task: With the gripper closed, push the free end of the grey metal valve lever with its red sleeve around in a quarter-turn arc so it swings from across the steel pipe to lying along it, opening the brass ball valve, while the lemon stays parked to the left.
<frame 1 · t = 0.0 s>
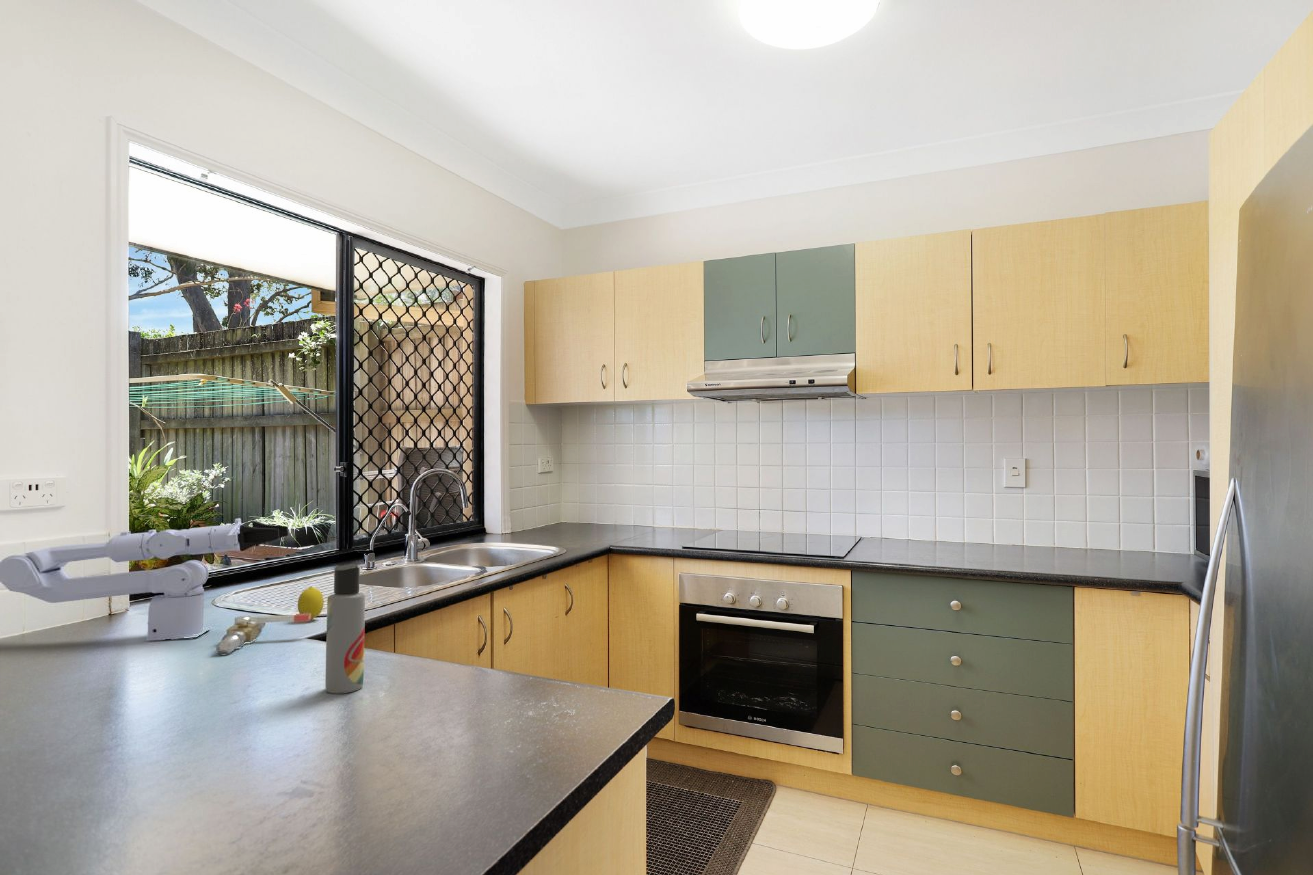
hand: (283, 532, 156), 22 cm above the countertop, tool horizontal, fingers open, 7 cm apart
valve: (242, 641, 145), on the countertop
lever: (272, 618, 147), point 4 cm above the countertop, hinge at 0.0°
lotion bottle: (344, 689, 114), on the countertop
lemon: (310, 621, 166), on the countertop
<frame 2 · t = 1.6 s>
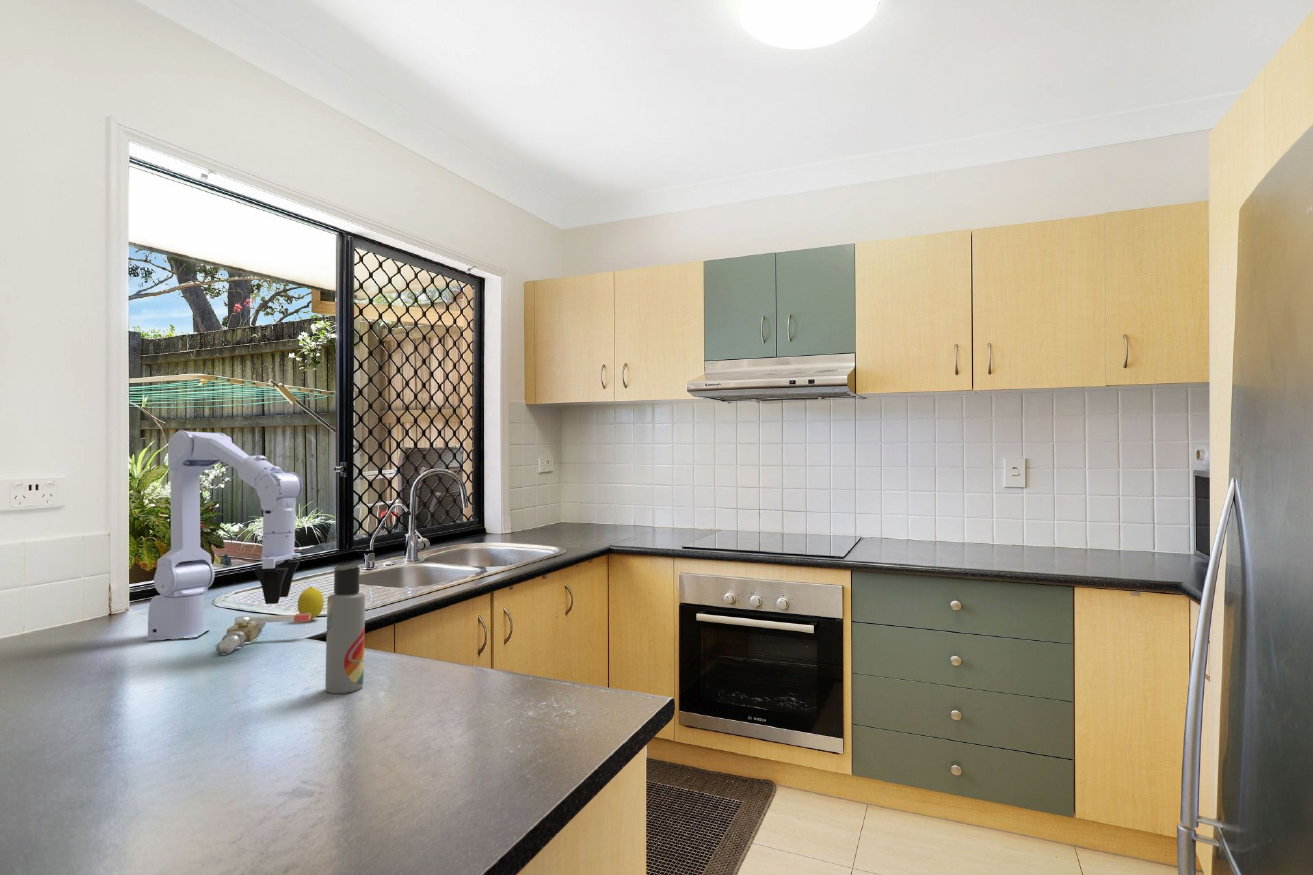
hand: (277, 600, 141), 9 cm above the countertop, tool pointing down, fingers open, 7 cm apart
nothing on the countertop moved.
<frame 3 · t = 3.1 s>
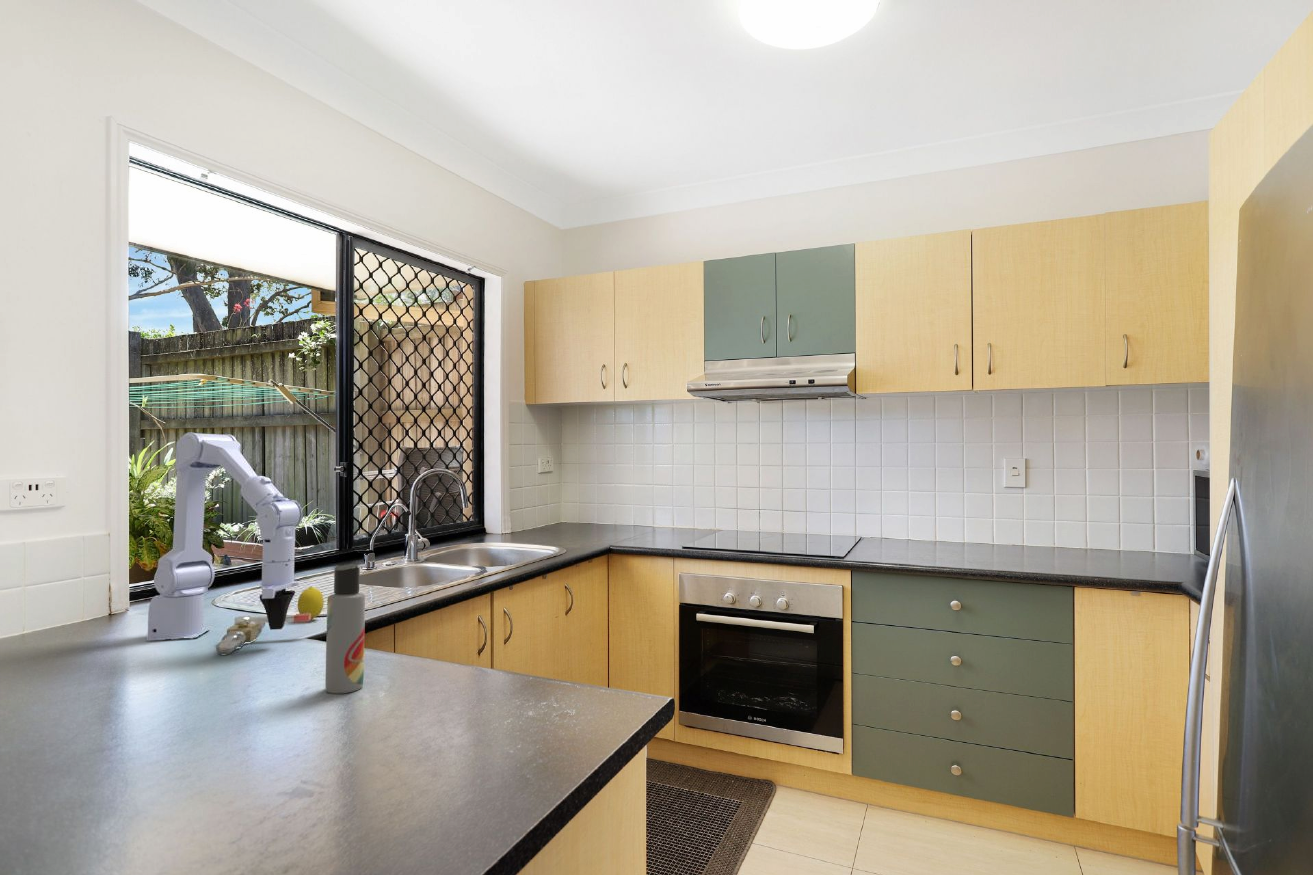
hand: (276, 628, 141), 4 cm above the countertop, tool pointing down, fingers closed
nothing on the countertop moved.
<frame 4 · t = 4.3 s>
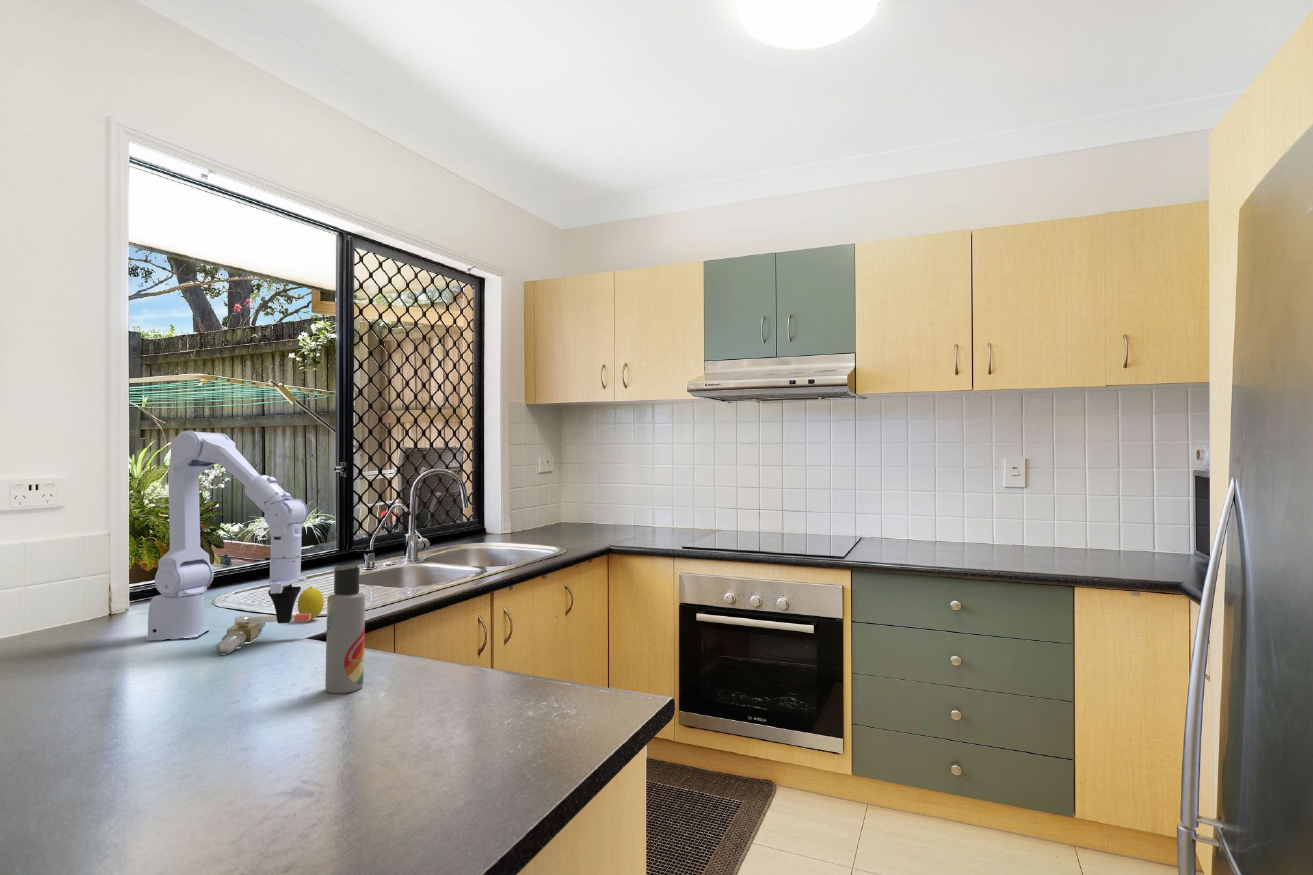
hand: (284, 622, 146), 4 cm above the countertop, tool pointing down, fingers closed, pressing on lever
lever: (272, 618, 147), point 4 cm above the countertop, hinge at 1.1°, touching gripper
everything else where it was.
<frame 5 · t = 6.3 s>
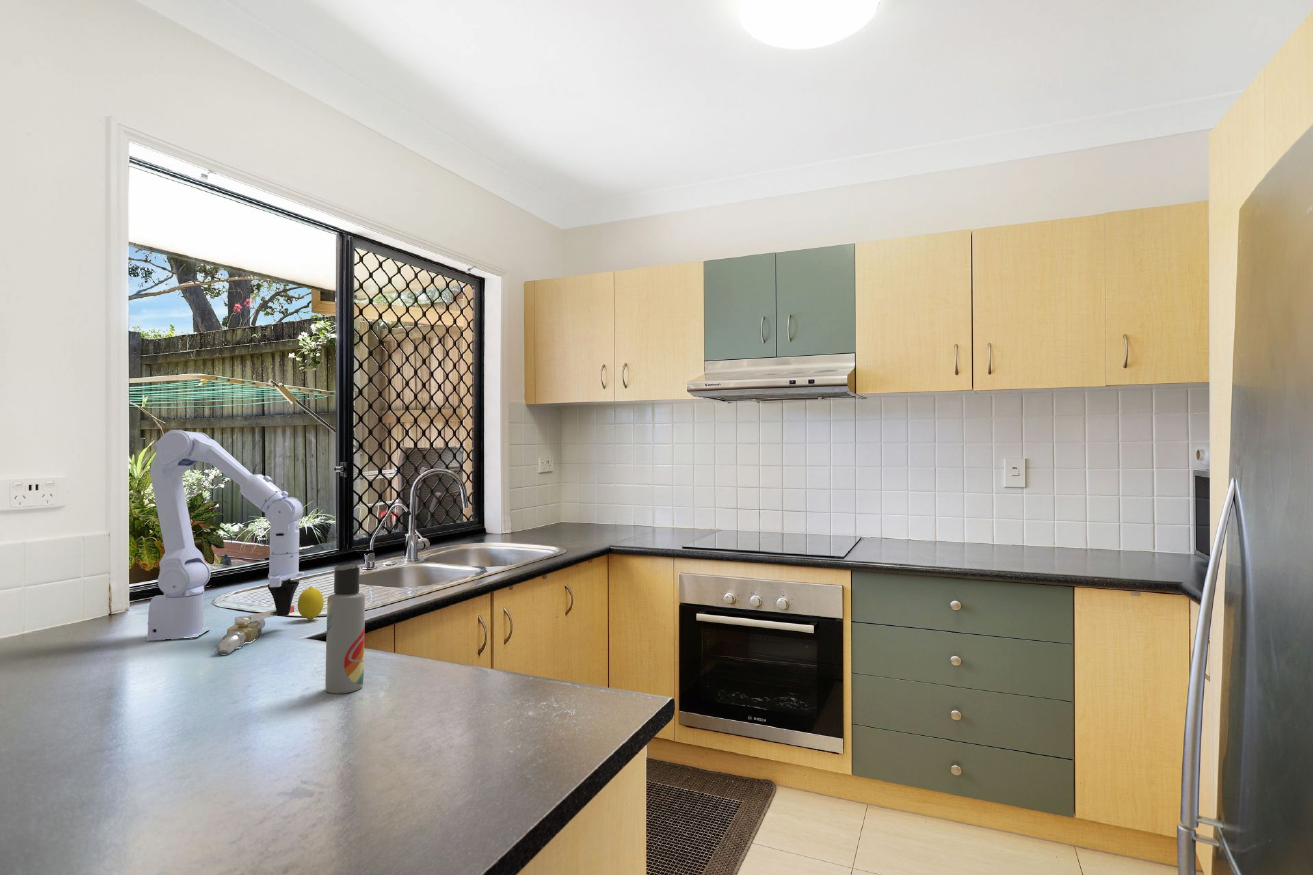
hand: (283, 615, 153), 4 cm above the countertop, tool pointing down, fingers closed, pressing on lever
lever: (264, 615, 151), point 4 cm above the countertop, hinge at 59.6°, touching gripper
everything else where it was.
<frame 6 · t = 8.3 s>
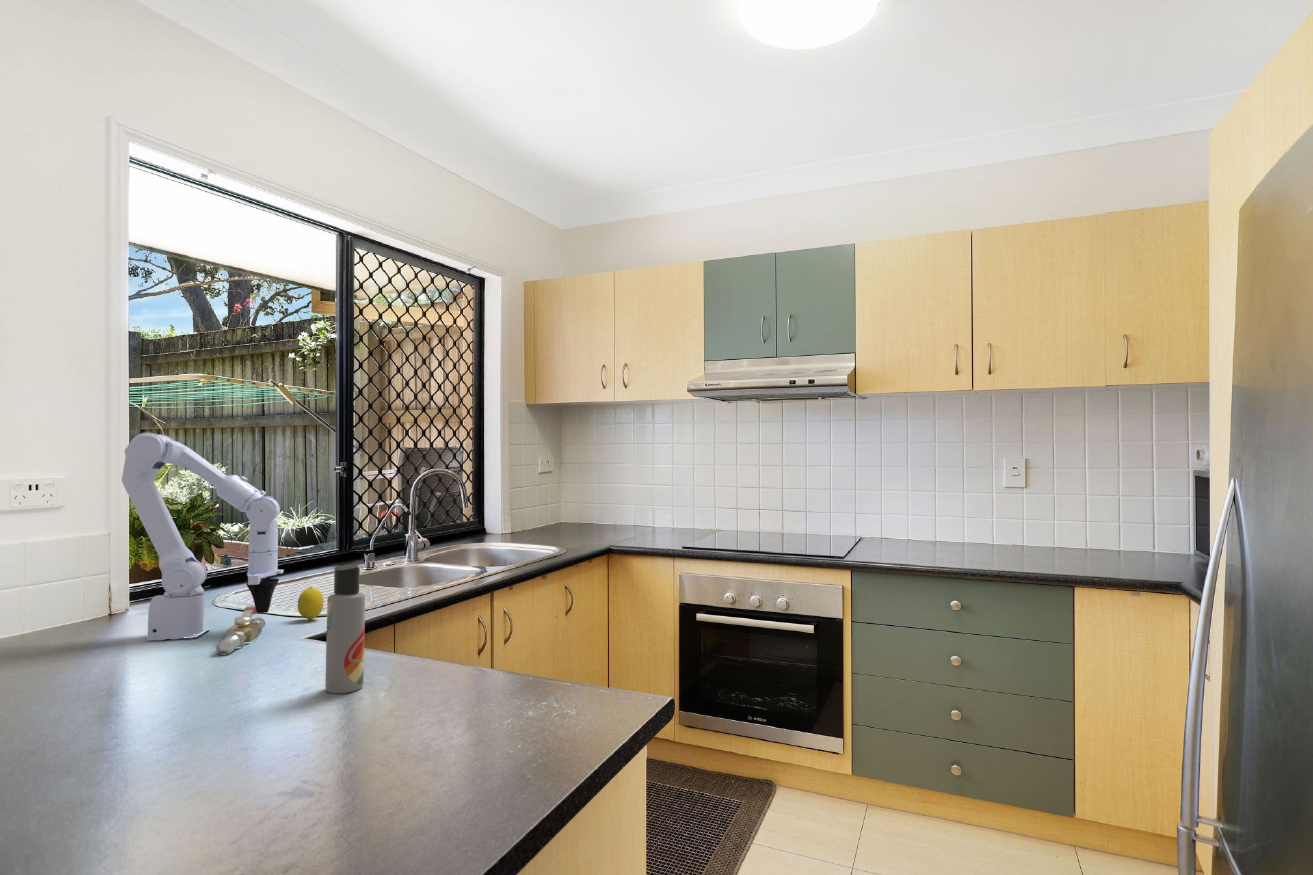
hand: (262, 612, 156), 4 cm above the countertop, tool pointing down, fingers closed, pressing on lever
lever: (247, 615, 150), point 4 cm above the countertop, hinge at 98.3°, touching gripper
everything else where it was.
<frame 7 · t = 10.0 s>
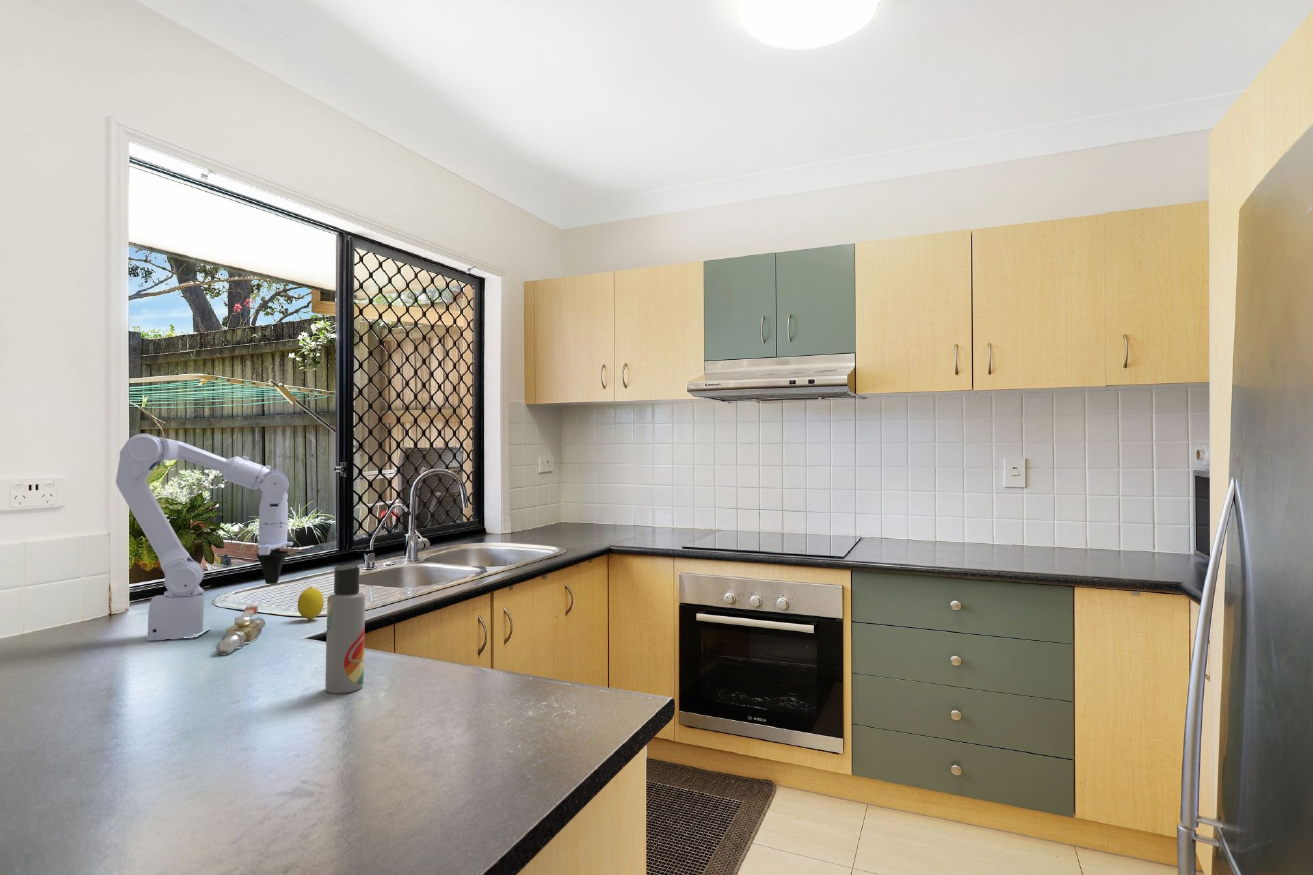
hand: (271, 583, 159), 10 cm above the countertop, tool pointing down, fingers closed
lever: (247, 615, 150), point 4 cm above the countertop, hinge at 97.9°
everything else where it was.
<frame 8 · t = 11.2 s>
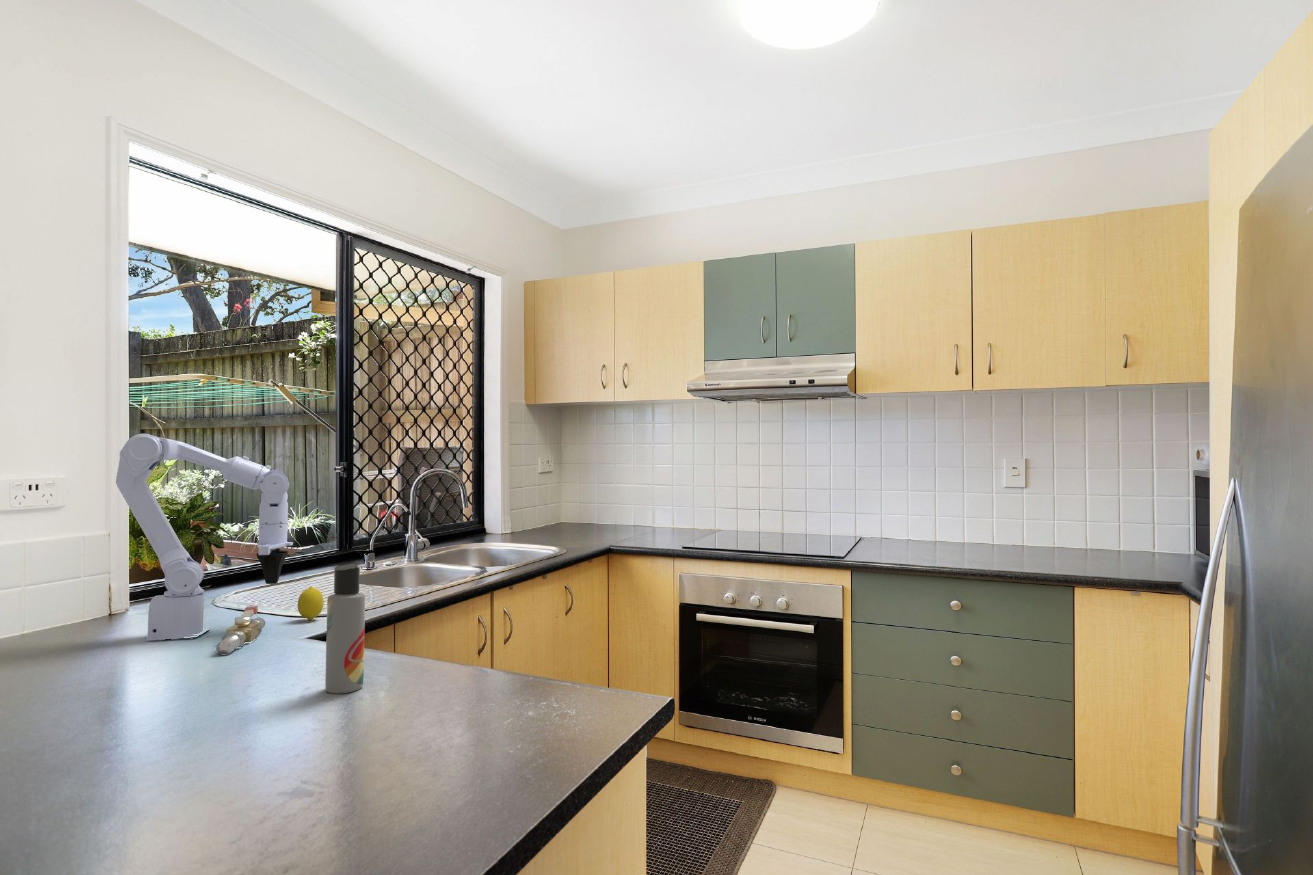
hand: (271, 583, 159), 10 cm above the countertop, tool pointing down, fingers closed
nothing on the countertop moved.
at the end: lever at +98° (first picture: +0°); lemon moved 0.2 cm from its start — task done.
